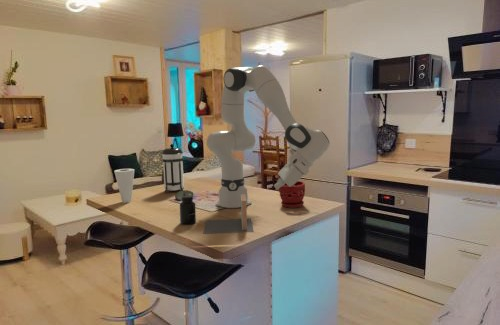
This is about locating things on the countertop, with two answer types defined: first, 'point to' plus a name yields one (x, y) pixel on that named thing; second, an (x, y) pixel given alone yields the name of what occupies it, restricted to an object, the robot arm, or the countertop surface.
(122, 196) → the cup
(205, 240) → the countertop surface
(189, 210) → the supplement bottle
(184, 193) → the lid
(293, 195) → the plant pot
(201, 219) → the countertop surface
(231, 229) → the mat
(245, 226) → the tile
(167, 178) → the coffee press
